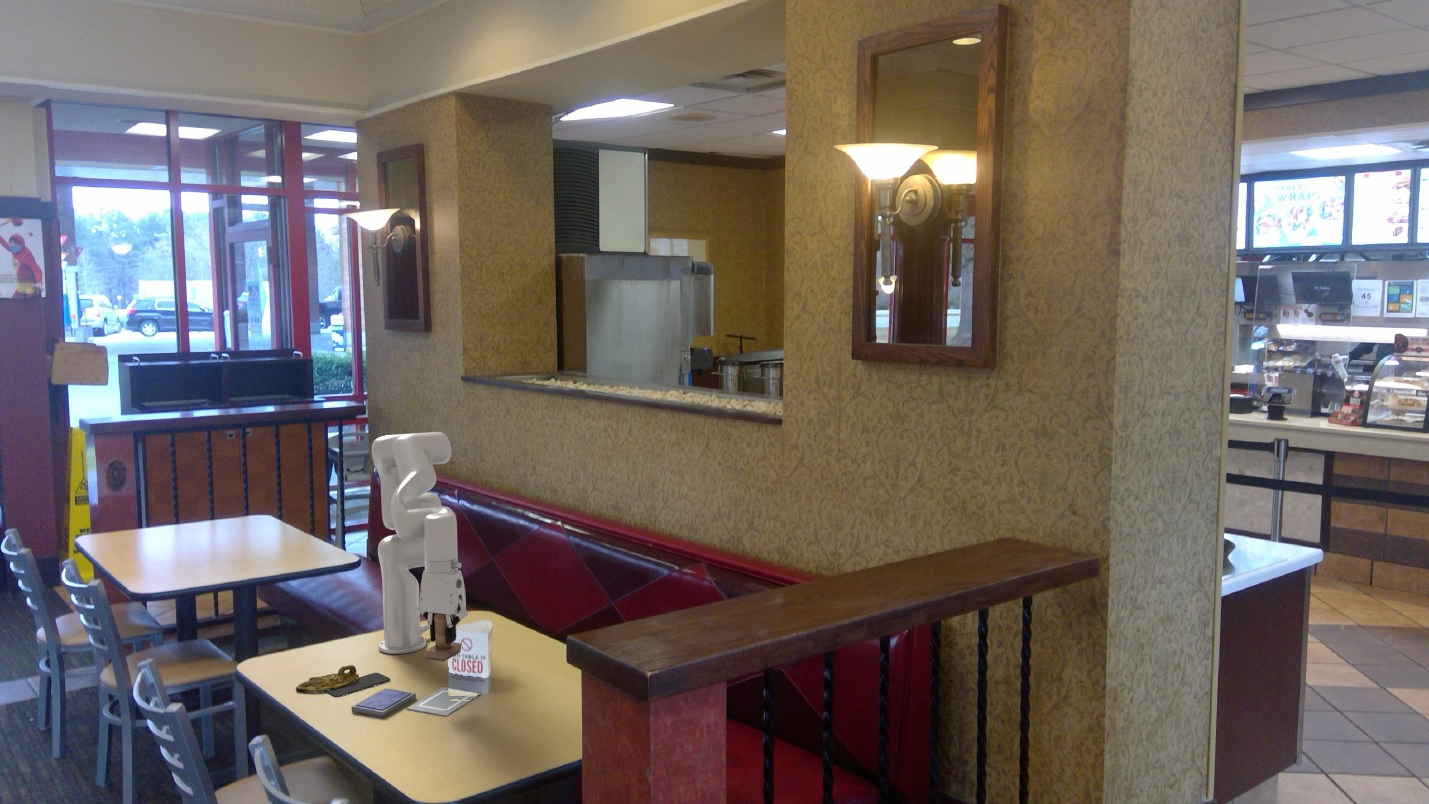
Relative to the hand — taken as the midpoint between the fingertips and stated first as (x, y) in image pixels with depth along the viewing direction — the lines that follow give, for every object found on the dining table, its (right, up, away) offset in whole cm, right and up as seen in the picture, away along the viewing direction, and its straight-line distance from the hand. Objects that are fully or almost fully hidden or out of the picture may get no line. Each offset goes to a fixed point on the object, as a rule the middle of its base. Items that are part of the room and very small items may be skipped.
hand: (443, 640), depth 239 cm
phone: (-25, -15, +12) cm, 31 cm away
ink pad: (-14, -15, -1) cm, 21 cm away
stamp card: (0, -15, +2) cm, 15 cm away
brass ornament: (-32, -14, +12) cm, 37 cm away
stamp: (0, -4, 0) cm, 4 cm away
